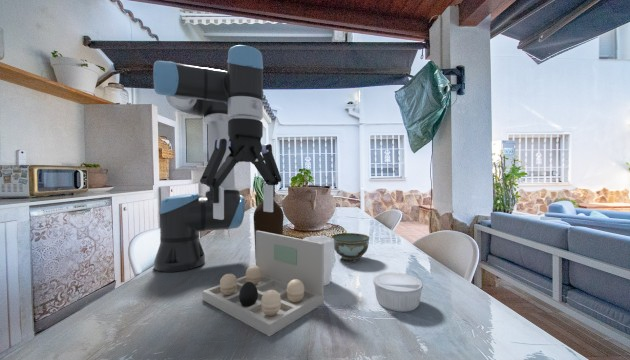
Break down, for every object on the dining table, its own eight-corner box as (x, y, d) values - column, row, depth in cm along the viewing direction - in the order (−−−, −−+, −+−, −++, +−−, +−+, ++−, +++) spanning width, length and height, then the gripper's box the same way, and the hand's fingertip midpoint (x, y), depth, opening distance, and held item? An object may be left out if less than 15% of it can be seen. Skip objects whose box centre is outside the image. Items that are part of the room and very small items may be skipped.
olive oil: (274, 264, 91) (274, 189, 90) (247, 261, 94) (247, 189, 94) (288, 255, 101) (288, 188, 100) (263, 252, 104) (263, 187, 104)
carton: (202, 300, 65) (202, 241, 65) (258, 279, 78) (257, 230, 78) (269, 336, 50) (269, 261, 50) (323, 303, 63) (323, 243, 63)
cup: (331, 290, 71) (332, 244, 71) (298, 287, 73) (298, 242, 72) (336, 277, 80) (336, 236, 79) (306, 275, 81) (306, 235, 81)
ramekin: (396, 319, 56) (396, 294, 56) (363, 298, 66) (363, 276, 66) (433, 307, 62) (433, 284, 62) (397, 289, 72) (397, 269, 71)
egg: (246, 298, 63) (246, 277, 63) (261, 301, 62) (261, 279, 62) (235, 306, 60) (235, 284, 60) (251, 309, 58) (251, 286, 58)
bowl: (373, 265, 90) (373, 241, 90) (332, 264, 91) (332, 241, 90) (365, 253, 104) (365, 232, 104) (330, 253, 104) (330, 232, 104)
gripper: (201, 106, 49) (202, 225, 49) (295, 126, 68) (295, 210, 69) (181, 112, 53) (182, 220, 54) (274, 129, 73) (274, 208, 73)
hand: (245, 215), depth 61 cm, fingers open, 13 cm apart
